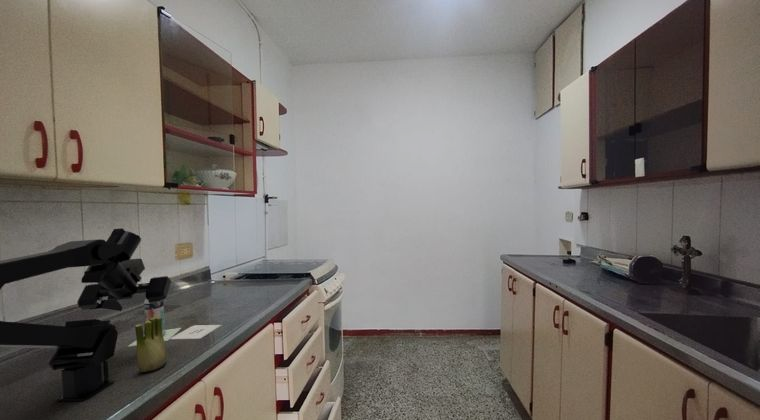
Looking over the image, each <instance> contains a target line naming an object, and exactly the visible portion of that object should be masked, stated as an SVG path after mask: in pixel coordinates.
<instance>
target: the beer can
mask: <svg viewBox="0 0 760 420" xmlns="http://www.w3.org/2000/svg"><path fill="white" fill-rule="evenodd" d="M148 301H149V300H147V299H146V298H145V300H144V301H143V306H144V307H143V309H144V321H145V322H146V321H149V319H151V318H154V319H155V318H158V317H162V334H163V335H164V334H165V333H166V331H165V330H166V319H165V307H164V306H165V305H164V300H161V303H160V306H155V305H153V304H151V303H149V302H148ZM145 322H144V323H145Z"/></svg>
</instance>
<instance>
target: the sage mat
mask: <svg viewBox="0 0 760 420" xmlns="http://www.w3.org/2000/svg"><path fill="white" fill-rule="evenodd" d="M181 329H182V327H176V328H170V329H165V331H166V333H165V334H164V335H163V338H164V341H165V342H169V339H170V338H172V337H173V336H175V335H177V334H178V332H179V331H181ZM127 347H128V348H131V347H137V339H135V340H134V341H133V342H132V343H130V344H129V345H128V346H127Z"/></svg>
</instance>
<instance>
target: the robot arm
mask: <svg viewBox="0 0 760 420" xmlns="http://www.w3.org/2000/svg"><path fill="white" fill-rule="evenodd" d="M141 238H142V237H140V235H138V234H136V233H134V232H132V231H127V230H125V229H124V228H114V229H113V230H112V232H111V233H110V235H109V237H108V238H107V240H106V239H84V240H72V241H67V242H65V243H62V244H60V245H59V244H58V245H57V246H55V247H54V248H52V249H51V250H47V251H45V252H38V253H34V254H29V255H24V256H17V257H14V258H13V257H12V258H8V259H3V260H0V290H1V289H2V288H3V287H4V286H5V285H7V284H10V283H15V282H19V281H22V280H25V279H29V278H33V277H37V276H41V275H45V274H49V273H52V272H56V271H60V270H64V269H68V268H70V269H71V268H81V267H87V268H86V270H85V271H84V273H83V276H82V277H81V280H80V282H81V283H82V284H86V285H85V286H84V288H83V290H82V291H81V293H80V295H79V297H78V300H77V302H76V304H77V306H78V307H79V308H80V309H81V310H83V311H84V310H90V311H93V310H94V311H112V312H122V310H123V306H122V304H121V303H120V302H119V300H129V299H133V296H134V295H135V294H142V293H145V299H147V300H149V301H148V302H149V303H151V304H153V305H155V306H160V303H161V300H163V301H164V300H165V299H166V298H167V297H168V293H169V290H170V286H171V284H172V280H171V278H170V277H169V276H167V275H164V276H154V277H151V278H150V279H149V282H145V283H140V282H141V280H142V277H141V274H142V273H143V271H145V269H146V268H145V267H146V266H145V265H144V262H143V259H142V258H132V256H133V255H134V253H135V252H136V250H137V248H138V247H139V244H141V241H142V239H141ZM116 328H117V326H116V325H115V324H113V323H111V319H110V320H109V319H108V320H101V319H96V318H92V319H79V320H68V321H67V320H66V321H65V325H64V326H62V325H51V324H40V323H38V324H37V323H31V322H30V323H27V322H18V321H17V322H15V321H4V320H0V348H16V349H18V348H19V349H20V348H21V349H22V348H25V349H26V348H28V349H29V348H30V349H31V348H32V349H33V348H34V349H37V348H39V349H40V348H41V349H54V350H55V352H54V354H53V355H52V357H51V358H50V360H49V362H48V365H49V366H50V368H51V370H52V371H57V370H60V372H61V373H60V374H61V390H62V394H61V395H59V396H57V397H56V399H55V401H56V402H59V401H60V402H61V401H63V402H64V401H65V402H68V401H71V402H81V401H85V400H87V399H89V398H90V397H92V396H93V395H96V394H97V393H99V392H101V391H102V390H104V389H105V388H107V387H109V386H110V385H113V384H114V383H115V380H114V379H109V378H110V376H109V375H110V374H109V373H110V372H109V362H108V360H109V359H110V358H112V357H114V355H115V351H116V345H117V341H118V335H119V333H118V330H117V329H116ZM91 353H92V354H91ZM80 354H88V355H80Z"/></svg>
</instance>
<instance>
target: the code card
mask: <svg viewBox="0 0 760 420" xmlns="http://www.w3.org/2000/svg"><path fill="white" fill-rule="evenodd" d="M221 326H222V324H203V325H201V324H199V325H195V324H194V325H192V326H190V327H188V328H186V329H185V330H183V331H181V332H179V333H176V334H175V335H174V336H173V337H172V338H170V339H169V340H173V341H174V340H200V339H203V338H204V337H205V336H207V335H208V334H210V333H212V332H213V331H215V330H217V329H218V328H220V327H221ZM169 340H168V341H169Z"/></svg>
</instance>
